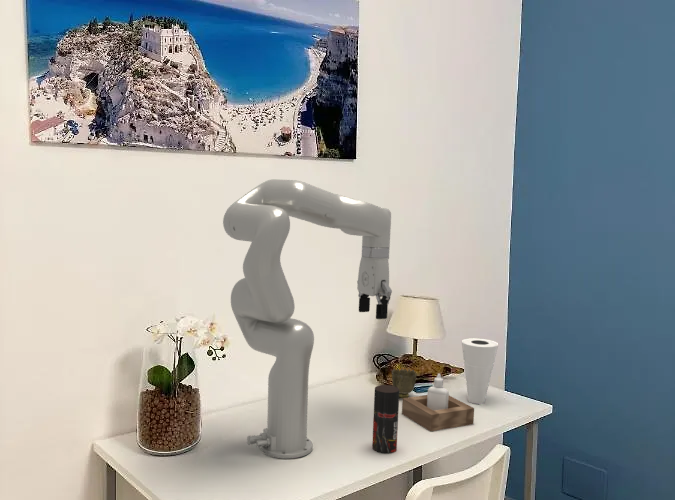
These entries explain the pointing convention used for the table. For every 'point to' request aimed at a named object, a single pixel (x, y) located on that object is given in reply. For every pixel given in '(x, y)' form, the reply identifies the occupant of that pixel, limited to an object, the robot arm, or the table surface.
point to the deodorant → (385, 419)
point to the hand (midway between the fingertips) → (372, 315)
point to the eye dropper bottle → (437, 395)
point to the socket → (437, 413)
